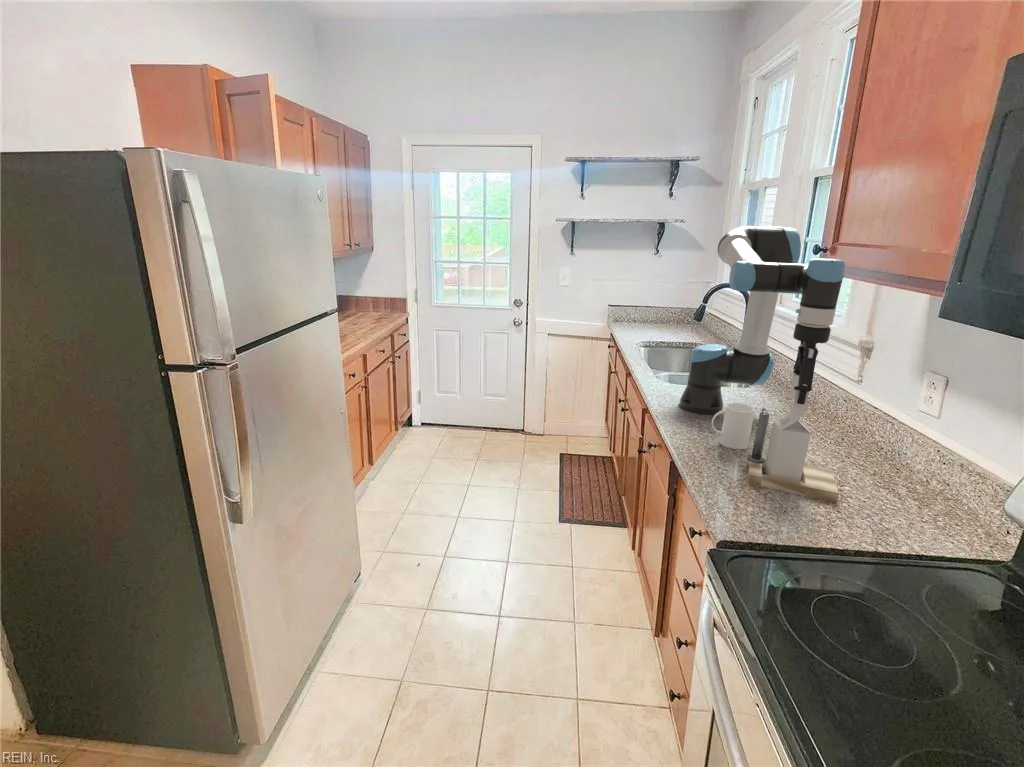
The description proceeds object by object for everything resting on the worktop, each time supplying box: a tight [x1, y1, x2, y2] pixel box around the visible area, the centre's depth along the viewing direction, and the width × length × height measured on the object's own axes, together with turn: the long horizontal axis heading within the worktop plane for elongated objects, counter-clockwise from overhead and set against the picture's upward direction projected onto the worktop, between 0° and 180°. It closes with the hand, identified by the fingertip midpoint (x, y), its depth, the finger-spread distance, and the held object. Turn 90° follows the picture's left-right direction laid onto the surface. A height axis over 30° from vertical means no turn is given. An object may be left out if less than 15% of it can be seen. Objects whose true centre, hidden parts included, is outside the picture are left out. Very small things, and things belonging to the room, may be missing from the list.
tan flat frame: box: [747, 456, 840, 503], centre depth 134 cm, size 14×20×2 cm
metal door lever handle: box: [746, 407, 770, 463], centre depth 140 cm, size 7×4×16 cm, turn 155°
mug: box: [711, 402, 756, 450], centre depth 156 cm, size 12×8×12 cm
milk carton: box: [763, 407, 812, 482], centre depth 132 cm, size 7×7×19 cm
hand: (795, 406), depth 130 cm, fingers open, 13 cm apart
